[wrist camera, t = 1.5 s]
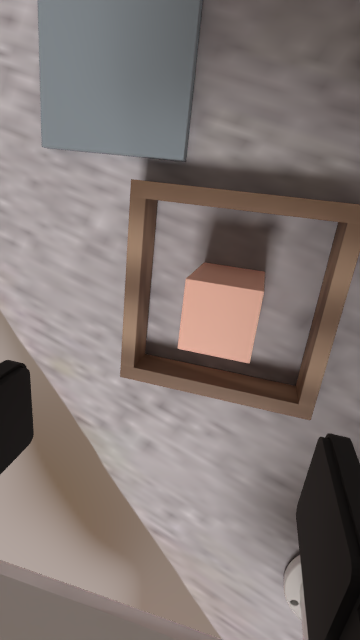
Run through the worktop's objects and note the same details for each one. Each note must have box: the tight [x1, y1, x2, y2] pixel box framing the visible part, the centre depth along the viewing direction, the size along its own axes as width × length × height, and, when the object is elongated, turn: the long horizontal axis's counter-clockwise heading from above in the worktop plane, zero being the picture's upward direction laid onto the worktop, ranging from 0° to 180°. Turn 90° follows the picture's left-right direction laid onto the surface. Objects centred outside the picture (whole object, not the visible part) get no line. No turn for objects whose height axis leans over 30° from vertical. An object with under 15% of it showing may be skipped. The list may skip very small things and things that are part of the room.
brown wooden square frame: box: [120, 179, 360, 420], centre depth 27 cm, size 16×16×3 cm
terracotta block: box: [178, 262, 265, 364], centre depth 25 cm, size 5×5×7 cm
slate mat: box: [38, 0, 203, 162], centre depth 25 cm, size 12×12×1 cm
